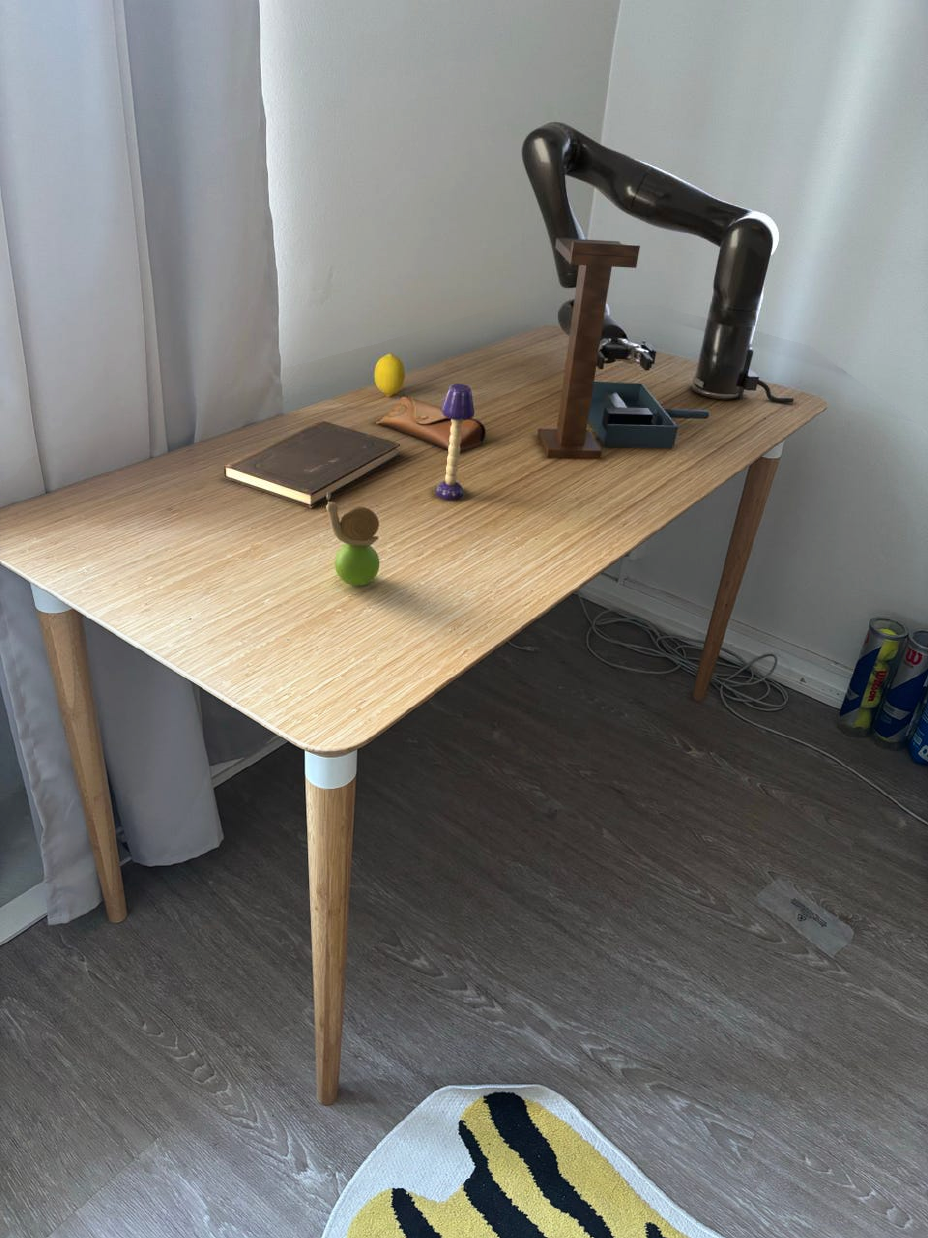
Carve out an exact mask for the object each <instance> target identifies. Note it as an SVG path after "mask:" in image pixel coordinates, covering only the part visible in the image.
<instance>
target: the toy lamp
mask: <svg viewBox="0 0 928 1238" xmlns="http://www.w3.org/2000/svg"><path fill="white" fill-rule="evenodd" d="M473 400H474V399H473V394H472V389H471V387H470V386H469V385H467V384H463V383H452V384H451V385H450V386H449V388H448V390H447V392H446V396H445V398H444V401H443V404H442V406H441V408H442V410H441V412H442V414H443V415H444V416H445V417H447V418H450V419H451V422H452V425H451V428H450V432H451V435H450V439H449V442H450V445H449V448H448V449H447V451H448V454H447V458H446V462H447V464H446V466H445V467H446V468H445V472H446V474H445V476H444V481H442V482H440V483H439V484H438V485H437V487H436V489H435V495H436V496H437V497H438V498H440V499H442V500H445V501H459V500H461V499H463V498H464V497H465V491H464V488H463V486H462V485H461V484H460V483H459V482H457V480H458V478H457V477H458V476H457V473H458V470H459V466H458V465H459V462H460V454H461V451H460V443H461V433H462V423H463V420H468V419H471V418H474V417H475V408H474V401H473Z"/></svg>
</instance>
